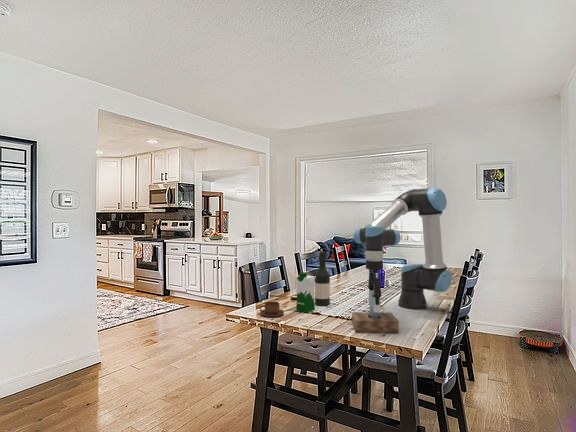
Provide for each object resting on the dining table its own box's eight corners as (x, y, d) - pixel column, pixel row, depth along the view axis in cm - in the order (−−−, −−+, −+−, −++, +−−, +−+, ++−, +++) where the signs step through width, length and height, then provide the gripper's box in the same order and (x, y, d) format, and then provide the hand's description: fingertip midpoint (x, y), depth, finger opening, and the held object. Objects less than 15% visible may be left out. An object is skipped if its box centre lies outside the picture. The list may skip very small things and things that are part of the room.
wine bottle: (329, 307, 202) (328, 252, 202) (313, 306, 203) (313, 251, 203) (330, 303, 210) (330, 250, 210) (315, 302, 211) (315, 250, 212)
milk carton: (293, 310, 194) (293, 272, 194) (304, 307, 201) (304, 270, 201) (306, 313, 188) (306, 274, 188) (317, 310, 195) (317, 272, 195)
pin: (378, 324, 165) (377, 293, 165) (379, 327, 161) (379, 294, 161) (369, 324, 165) (368, 293, 165) (370, 326, 161) (370, 294, 161)
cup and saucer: (267, 320, 176) (267, 307, 176) (255, 314, 187) (255, 302, 187) (288, 316, 183) (288, 304, 183) (276, 311, 193) (276, 299, 193)
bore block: (391, 323, 169) (391, 312, 170) (398, 333, 156) (398, 321, 156) (352, 323, 171) (352, 312, 171) (355, 332, 157) (355, 320, 157)
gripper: (362, 257, 176) (362, 301, 176) (369, 263, 151) (370, 315, 151) (377, 257, 175) (378, 302, 175) (388, 263, 151) (388, 315, 151)
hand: (374, 308), depth 163 cm, fingers open, 13 cm apart
